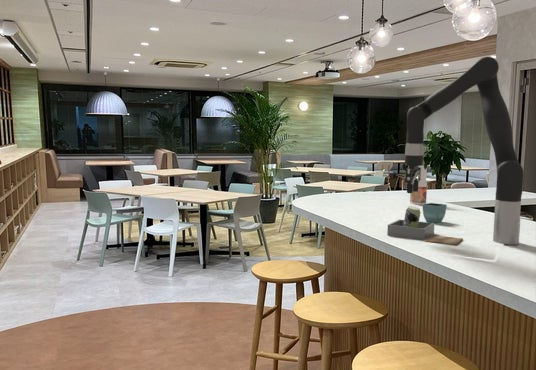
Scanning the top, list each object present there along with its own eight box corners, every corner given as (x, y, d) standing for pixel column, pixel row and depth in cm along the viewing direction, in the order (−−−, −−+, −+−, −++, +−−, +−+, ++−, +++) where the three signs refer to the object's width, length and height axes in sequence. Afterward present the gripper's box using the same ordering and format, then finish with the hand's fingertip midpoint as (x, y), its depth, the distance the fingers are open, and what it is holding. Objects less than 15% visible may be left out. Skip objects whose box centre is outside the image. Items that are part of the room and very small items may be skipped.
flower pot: (429, 220, 241) (430, 202, 240) (446, 222, 235) (447, 204, 234) (421, 222, 235) (421, 204, 234) (438, 224, 229) (439, 206, 228)
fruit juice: (408, 204, 294) (410, 159, 292) (424, 204, 293) (426, 159, 291) (411, 206, 285) (413, 160, 282) (427, 207, 284) (429, 160, 281)
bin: (434, 233, 208) (434, 223, 208) (424, 239, 195) (424, 228, 195) (398, 229, 217) (399, 219, 216) (387, 235, 204) (387, 224, 203)
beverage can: (405, 232, 211) (406, 205, 210) (422, 234, 206) (423, 206, 205) (399, 234, 206) (400, 206, 205) (416, 236, 201) (417, 208, 200)
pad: (462, 239, 196) (462, 238, 196) (456, 245, 186) (456, 244, 186) (432, 236, 202) (432, 235, 202) (425, 241, 192) (425, 240, 192)
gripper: (418, 155, 195) (416, 194, 196) (427, 154, 206) (425, 191, 208) (400, 154, 199) (398, 193, 200) (410, 153, 210) (408, 190, 212)
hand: (412, 192), depth 204 cm, fingers open, 8 cm apart
